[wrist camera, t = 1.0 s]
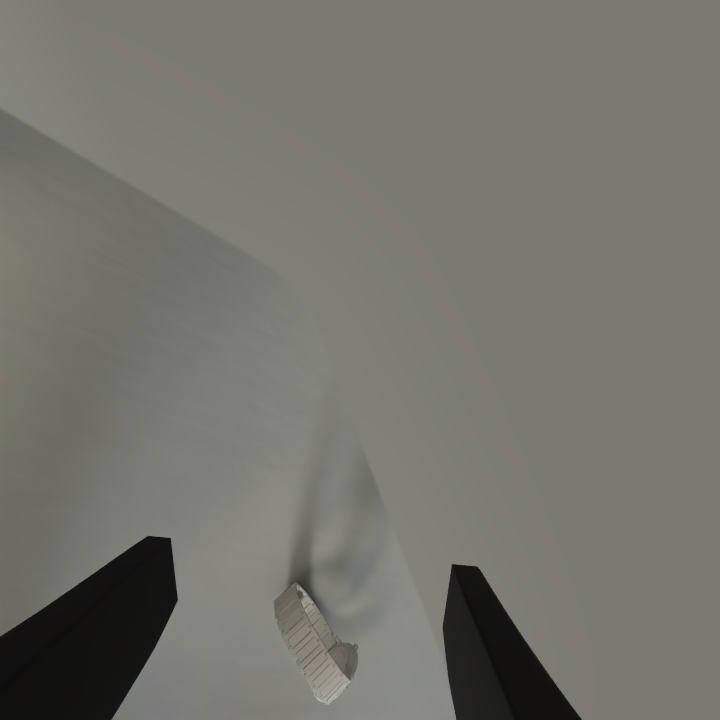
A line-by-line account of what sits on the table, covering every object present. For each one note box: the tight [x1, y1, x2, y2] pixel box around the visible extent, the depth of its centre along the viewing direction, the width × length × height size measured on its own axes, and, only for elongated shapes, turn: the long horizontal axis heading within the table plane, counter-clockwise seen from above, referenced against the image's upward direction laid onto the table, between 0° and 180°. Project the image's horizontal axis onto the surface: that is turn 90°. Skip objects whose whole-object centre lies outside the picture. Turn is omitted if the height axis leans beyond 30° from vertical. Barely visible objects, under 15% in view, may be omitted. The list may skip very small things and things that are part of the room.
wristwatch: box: [274, 582, 358, 705], centre depth 18 cm, size 3×5×5 cm, turn 33°
